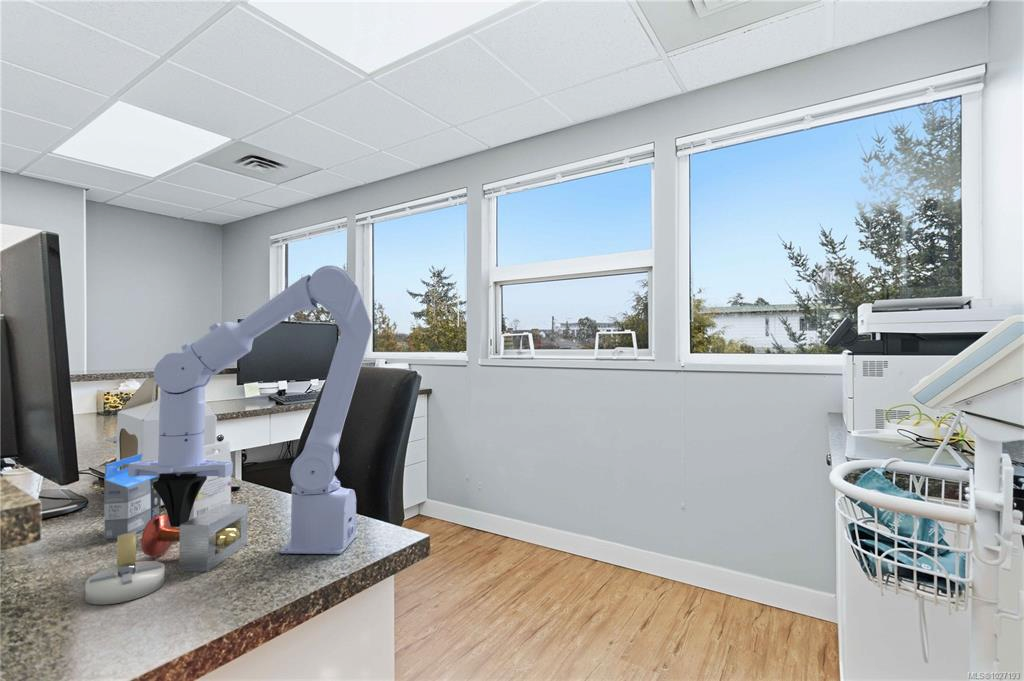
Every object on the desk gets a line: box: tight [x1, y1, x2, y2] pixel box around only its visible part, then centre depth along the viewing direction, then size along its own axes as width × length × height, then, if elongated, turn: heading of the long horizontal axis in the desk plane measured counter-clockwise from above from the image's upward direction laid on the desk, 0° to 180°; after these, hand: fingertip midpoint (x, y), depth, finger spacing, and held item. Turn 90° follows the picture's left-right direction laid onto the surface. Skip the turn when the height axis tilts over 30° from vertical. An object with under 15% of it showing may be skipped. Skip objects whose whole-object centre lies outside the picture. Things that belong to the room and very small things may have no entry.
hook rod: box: [140, 513, 240, 557], centre depth 74 cm, size 13×6×6 cm, turn 89°
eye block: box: [178, 503, 249, 573], centre depth 74 cm, size 4×10×6 cm, turn 179°
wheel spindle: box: [118, 563, 136, 576], centre depth 63 cm, size 2×2×1 cm
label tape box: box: [103, 454, 162, 540], centre depth 85 cm, size 9×4×12 cm, turn 5°
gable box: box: [115, 376, 218, 507], centre depth 109 cm, size 22×13×28 cm, turn 49°
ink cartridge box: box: [176, 440, 232, 528], centre depth 86 cm, size 9×5×15 cm, turn 168°
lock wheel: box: [84, 533, 166, 606], centre depth 64 cm, size 8×8×6 cm
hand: (179, 524), depth 74 cm, fingers closed
